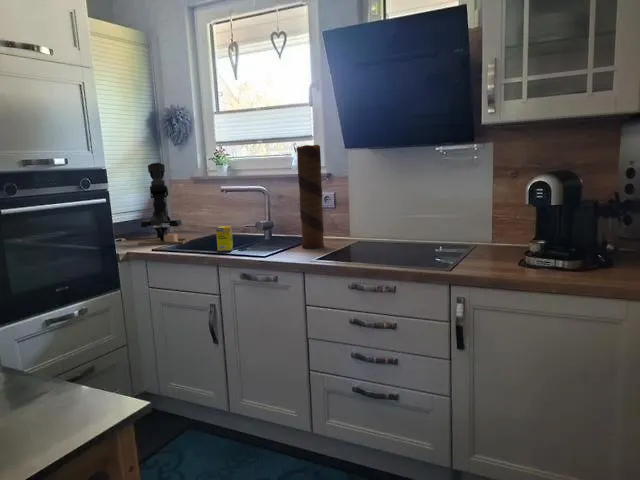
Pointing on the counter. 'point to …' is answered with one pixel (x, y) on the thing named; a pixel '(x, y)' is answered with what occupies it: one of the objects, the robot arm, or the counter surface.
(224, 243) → the supplement box
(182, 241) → the trap lane
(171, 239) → the terracotta block
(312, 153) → the wafer roll
